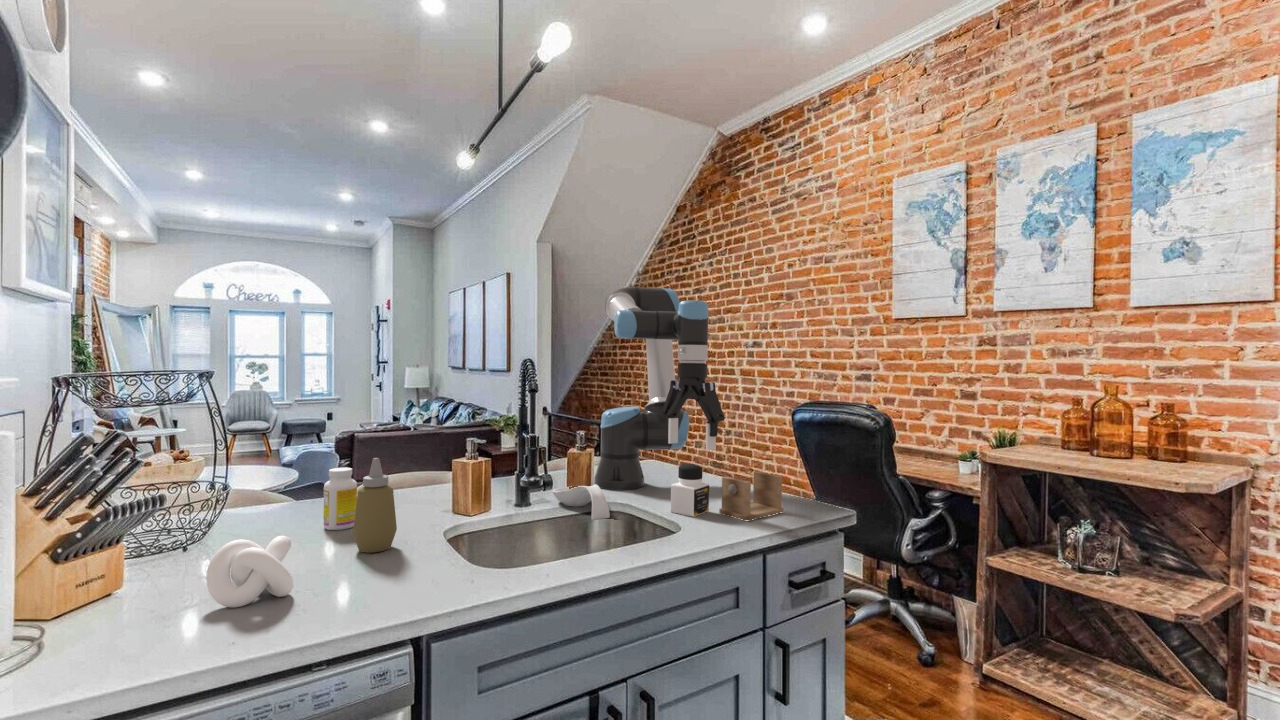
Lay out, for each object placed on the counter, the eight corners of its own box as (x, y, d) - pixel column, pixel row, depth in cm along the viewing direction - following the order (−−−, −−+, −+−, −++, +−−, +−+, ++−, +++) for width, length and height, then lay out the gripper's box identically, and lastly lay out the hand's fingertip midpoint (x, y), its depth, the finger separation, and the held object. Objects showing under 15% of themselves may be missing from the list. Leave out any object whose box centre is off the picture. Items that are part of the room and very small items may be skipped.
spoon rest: (546, 500, 160) (546, 474, 160) (586, 496, 166) (587, 471, 166) (579, 523, 139) (580, 493, 139) (624, 518, 145) (625, 488, 145)
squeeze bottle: (380, 557, 114) (381, 463, 114) (343, 553, 115) (344, 460, 115) (405, 544, 122) (406, 456, 121) (369, 541, 123) (371, 454, 123)
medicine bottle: (694, 517, 146) (695, 468, 145) (670, 512, 150) (670, 464, 150) (709, 511, 151) (710, 464, 151) (685, 506, 156) (686, 461, 155)
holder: (717, 513, 149) (718, 477, 149) (757, 505, 159) (757, 470, 158) (745, 522, 142) (746, 483, 142) (784, 512, 152) (785, 476, 151)
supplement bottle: (362, 523, 136) (363, 467, 136) (345, 531, 129) (346, 472, 129) (335, 521, 136) (335, 465, 136) (316, 530, 130) (317, 471, 130)
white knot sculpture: (239, 583, 100) (240, 529, 100) (314, 581, 101) (314, 529, 101) (195, 612, 89) (196, 552, 89) (280, 610, 90) (281, 551, 90)
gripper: (649, 361, 158) (648, 441, 158) (718, 362, 138) (716, 454, 138) (670, 361, 162) (669, 439, 162) (740, 363, 143) (738, 451, 143)
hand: (691, 446), depth 150 cm, fingers open, 13 cm apart
